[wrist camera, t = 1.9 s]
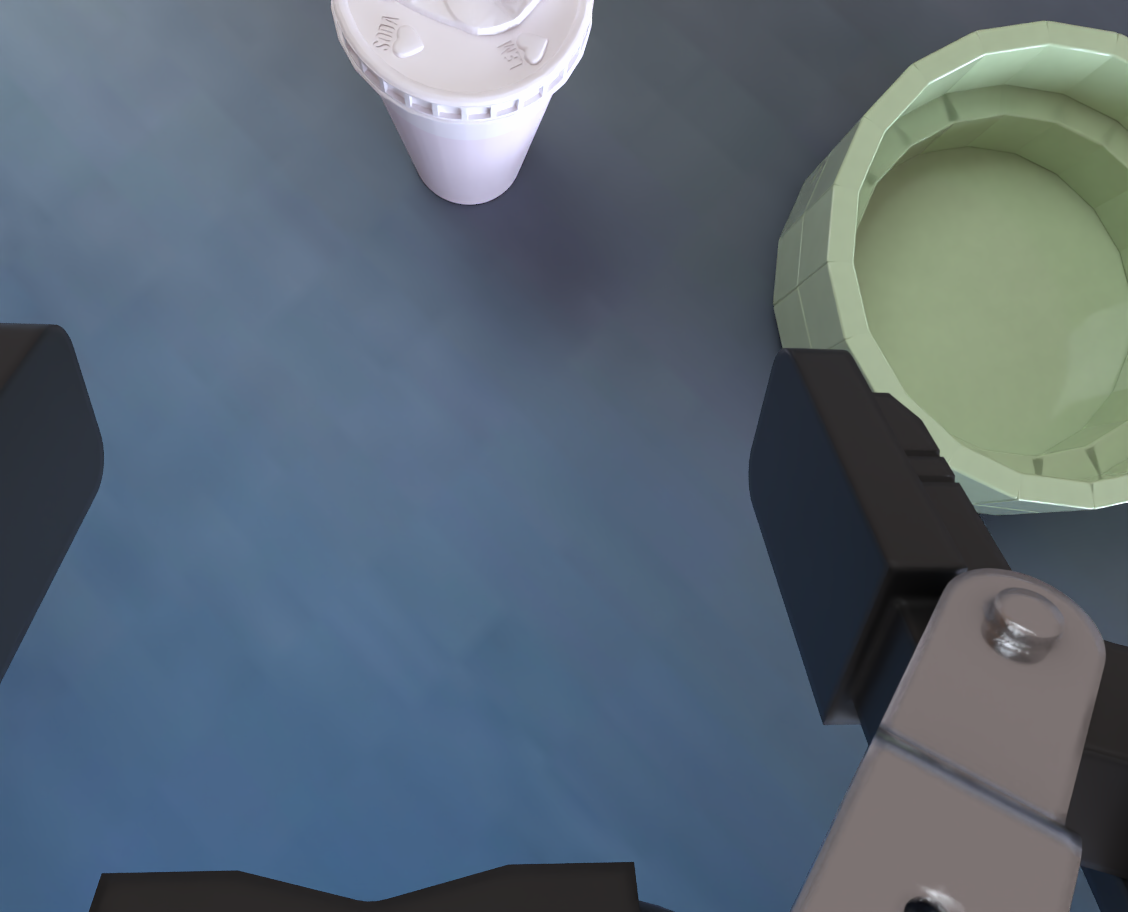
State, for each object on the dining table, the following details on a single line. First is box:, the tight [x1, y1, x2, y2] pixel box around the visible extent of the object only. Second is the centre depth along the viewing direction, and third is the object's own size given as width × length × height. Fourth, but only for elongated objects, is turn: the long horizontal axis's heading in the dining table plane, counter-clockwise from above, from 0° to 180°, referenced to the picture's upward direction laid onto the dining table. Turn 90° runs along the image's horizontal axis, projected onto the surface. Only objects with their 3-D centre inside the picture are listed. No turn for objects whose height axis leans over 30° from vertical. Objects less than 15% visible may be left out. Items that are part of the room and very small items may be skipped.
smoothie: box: [331, 0, 594, 205], centre depth 24 cm, size 6×6×14 cm
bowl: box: [773, 21, 1128, 515], centre depth 30 cm, size 15×15×6 cm
